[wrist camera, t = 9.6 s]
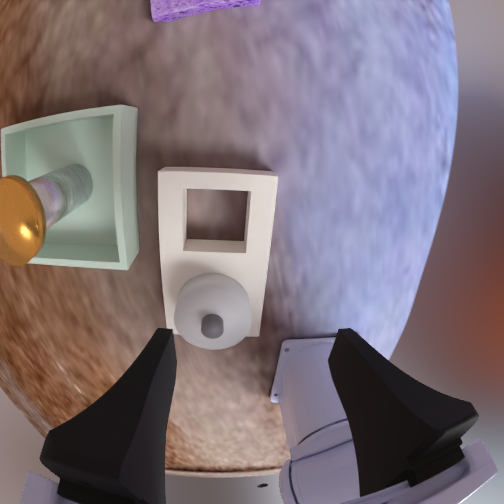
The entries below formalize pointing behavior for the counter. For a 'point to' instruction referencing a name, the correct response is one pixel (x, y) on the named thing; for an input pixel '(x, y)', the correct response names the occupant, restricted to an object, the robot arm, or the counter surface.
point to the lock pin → (37, 209)
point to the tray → (103, 175)
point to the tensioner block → (214, 258)
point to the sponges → (191, 7)
